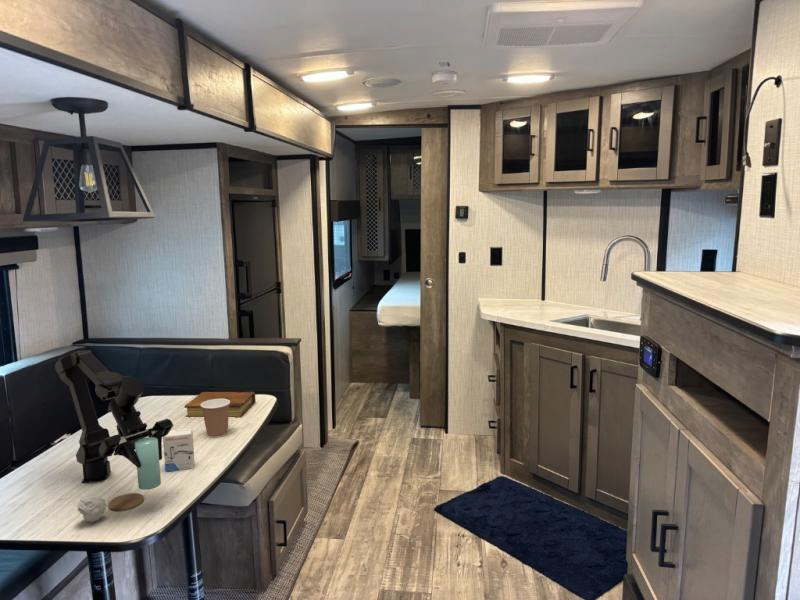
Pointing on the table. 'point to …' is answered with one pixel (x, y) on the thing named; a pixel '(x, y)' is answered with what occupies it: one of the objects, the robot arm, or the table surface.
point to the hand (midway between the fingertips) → (150, 463)
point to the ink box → (178, 450)
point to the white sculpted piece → (92, 508)
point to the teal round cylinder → (148, 463)
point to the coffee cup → (216, 416)
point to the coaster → (126, 502)
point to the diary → (238, 400)
